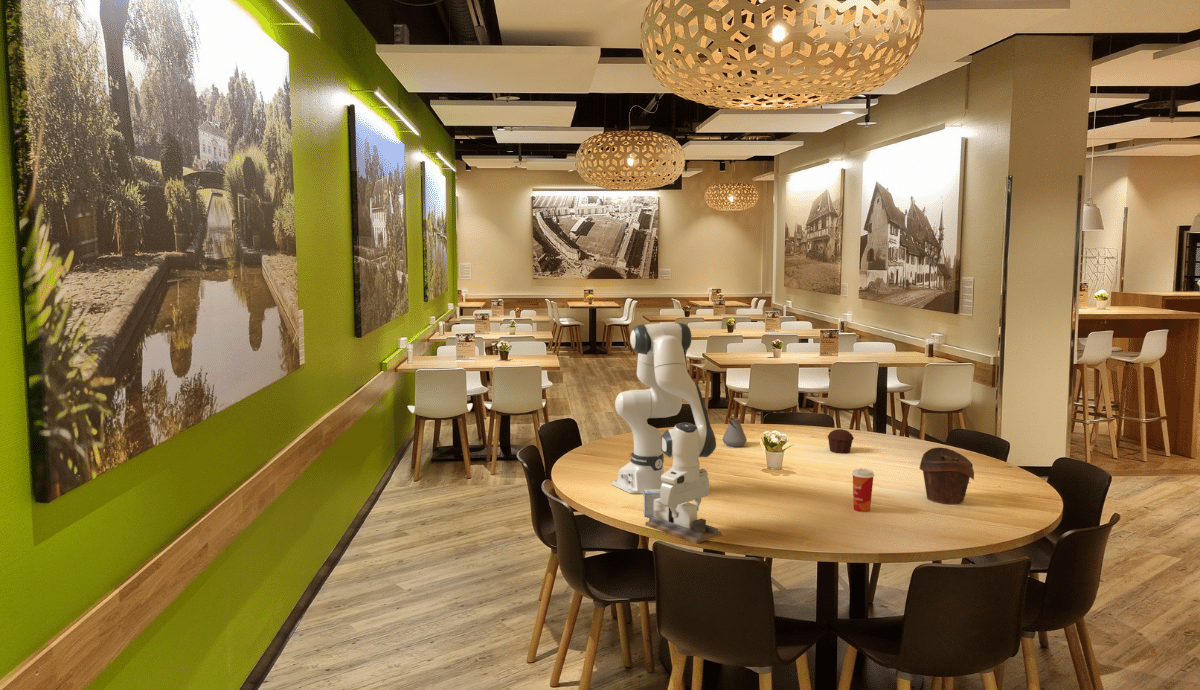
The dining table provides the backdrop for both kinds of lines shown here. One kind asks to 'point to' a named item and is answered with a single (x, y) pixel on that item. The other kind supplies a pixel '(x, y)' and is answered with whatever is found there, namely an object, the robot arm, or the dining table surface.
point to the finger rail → (665, 523)
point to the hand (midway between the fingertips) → (685, 514)
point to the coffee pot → (734, 433)
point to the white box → (686, 515)
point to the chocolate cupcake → (946, 475)
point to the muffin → (840, 441)
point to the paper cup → (862, 489)
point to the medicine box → (650, 501)
